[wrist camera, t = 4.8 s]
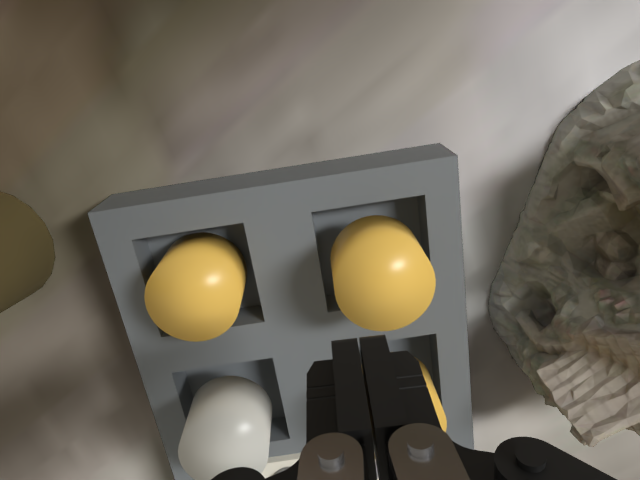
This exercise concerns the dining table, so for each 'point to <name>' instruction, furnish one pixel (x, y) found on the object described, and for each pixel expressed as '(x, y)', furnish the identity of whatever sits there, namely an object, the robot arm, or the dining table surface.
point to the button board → (290, 282)
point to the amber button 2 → (381, 274)
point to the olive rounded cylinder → (22, 251)
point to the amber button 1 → (197, 287)
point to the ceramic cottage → (581, 267)
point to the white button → (226, 428)
